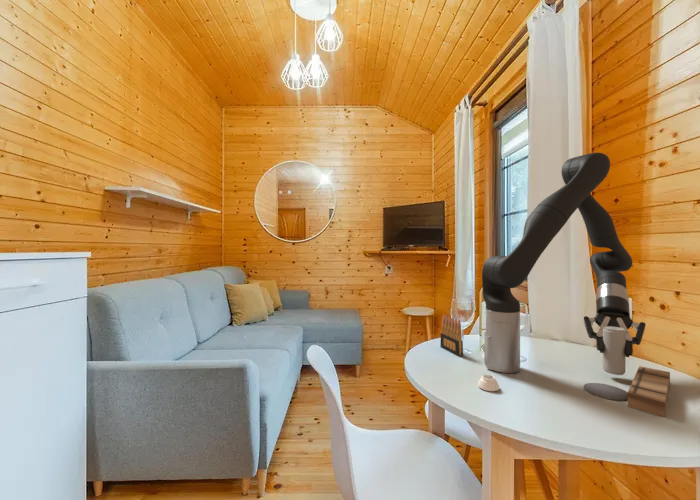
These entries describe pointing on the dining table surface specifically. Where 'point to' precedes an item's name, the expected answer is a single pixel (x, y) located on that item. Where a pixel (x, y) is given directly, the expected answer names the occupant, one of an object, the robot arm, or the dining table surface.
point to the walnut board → (649, 390)
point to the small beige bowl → (488, 383)
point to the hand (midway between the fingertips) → (614, 353)
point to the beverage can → (614, 350)
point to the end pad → (606, 391)
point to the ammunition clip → (451, 336)
